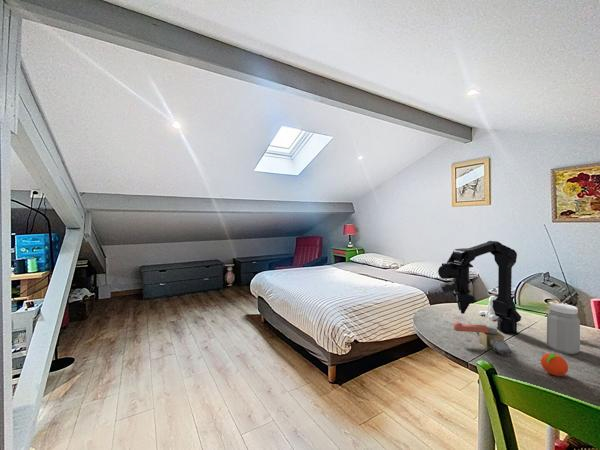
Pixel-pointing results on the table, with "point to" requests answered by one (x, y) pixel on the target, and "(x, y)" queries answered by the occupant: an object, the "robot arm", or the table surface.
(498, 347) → the pipe valve
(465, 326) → the lever
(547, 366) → the clementine
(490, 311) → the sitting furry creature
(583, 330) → the table surface
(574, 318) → the jar
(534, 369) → the table surface
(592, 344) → the table surface
